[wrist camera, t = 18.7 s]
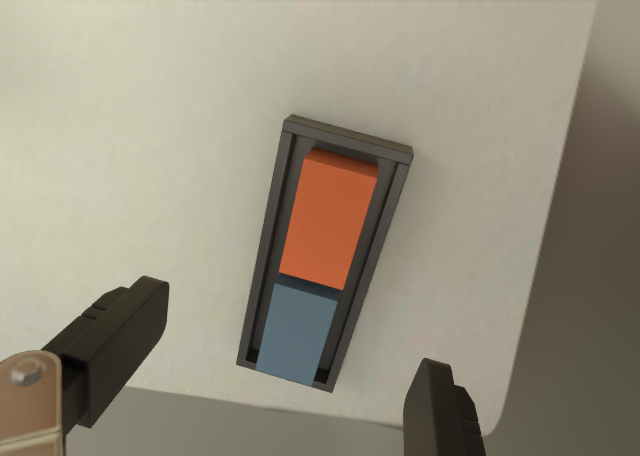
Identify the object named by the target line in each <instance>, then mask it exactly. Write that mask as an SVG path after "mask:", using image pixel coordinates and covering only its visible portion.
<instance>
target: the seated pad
mask: <svg viewBox="0 0 640 456" xmlns="http://www.w3.org/2000/svg"><path fill="white" fill-rule="evenodd" d="M339 294H340V289H337V288H333V287H330V286H326V285H323V284H319V283H316V282H312V281H309V280H305V279H302V278H298V277H295V276H291V275H288V274H284V273H281V272H280V273H279V275H278V278H277V280H276V282H275V284H274V289H273V293H272V298H271V302H270V307H269V311H268V315H267V320H266V324H265V329H264V333H263V338H262V342H261V347H260V351H259V355H258V360H257V364H256V369H255V370H257V371H261V372H264V373H267V374H271V375H274V376H277V377H281V378H284V379H288V380H291V381H294V382H298V383H301V384H304V385H308V386H312V384H313V381H314V377H315V374H316V371H317V368H318V365H319V361H320V358H321V355H322V352H323V348H324V345H325V342H326V339H327V336H328V332H329V329H330V326H331V323H332V319H333V316H334V313H335V310H336V307H337V303H338V299H339Z"/></svg>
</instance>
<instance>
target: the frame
mask: <svg viewBox="0 0 640 456" xmlns="http://www.w3.org/2000/svg"><path fill="white" fill-rule="evenodd" d="M282 130H283V131H282V132H281V137H280V142H279V147H278V152H277V158H276V163H275V168H274V173H273V178H272V183H271V188H270V193H269V198H268V203H267V208H266V214H265V219H264V224H263V229H262V234H261V239H260V244H259V249H258V254H257V259H256V265H255V270H254V275H253V280H252V285H251V290H250V295H249V300H248V305H247V310H246V315H245V321H244V326H243V331H242V336H241V341H240V346H239V351H238V356H237V362H236V365H239V366H242V367H245V368H249V369H252V370H255V369H256V364H257V360H258V355H259V351H260V347H261V342H262V338H263V333H264V329H265V324H266V320H267V315H268V311H269V307H270V302H271V298H272V293H273V289H274V284H275V282H276V280H277V278H278V275H279V273H280V272H279V268H280V264H281V259H282V255H283V250H284V246H285V242H286V237H287V233H288V228H289V224H290V219H291V215H292V210H293V206H294V201H295V197H296V192H297V188H298V183H299V179H300V175H301V170H302V166H303V161H304V158H305V157H306V156H307V154H308V153H309V152H310V150H311V149H312V147H315V148H319V149H322V150H326V151H330V152H333V153H337V154H341V155H344V156H348V157H352V158H355V159H359V160H363V161H366V162H370V163H374V164H378V177H377V182H376V185H375V188H374V192H373V195H372V198H371V201H370V204H369V208H368V211H367V214H366V217H365V221H364V224H363V227H362V230H361V234H360V237H359V240H358V243H357V246H356V250H355V253H354V256H353V259H352V263H351V266H350V269H349V272H348V276H347V279H346V282H345V285H344V289H343V290H340V294H339V299H338V303H337V307H336V310H335V313H334V316H333V319H332V323H331V326H330V329H329V332H328V336H327V339H326V342H325V345H324V348H323V352H322V355H321V358H320V361H319V365H318V368H317V371H316V374H315V377H314V381H313V384H312V386H310V387H313V388H316V389H320V390H323V391H326V392H330V393H332V392H333V389H334V386H335V384H336V381H337V378H338V375H339V372H340V369H341V366H342V363H343V360H344V357H345V355H346V352H347V349H348V346H349V343H350V340H351V337H352V334H353V331H354V328H355V325H356V322H357V320H358V317H359V314H360V311H361V308H362V305H363V302H364V299H365V296H366V293H367V290H368V287H369V284H370V282H371V279H372V276H373V273H374V270H375V267H376V264H377V261H378V258H379V255H380V252H381V249H382V247H383V244H384V241H385V238H386V235H387V232H388V229H389V226H390V223H391V220H392V217H393V214H394V211H395V209H396V206H397V203H398V200H399V197H400V194H401V191H402V188H403V185H404V182H405V179H406V176H407V174H408V171H409V168H410V164H411V162H412V159H413V151H412V147H410V146H406V145H403V144H399V143H395V142H392V141H388V140H384V139H380V138H377V137H373V136H369V135H366V134H362V133H358V132H355V131H351V130H347V129H344V128H340V127H336V126H333V125H329V124H325V123H322V122H318V121H314V120H311V119H307V118H303V117H299V116H296V115H290V116H289V117H287V118H286V119H285V120H284V122H283V128H282ZM256 371H257V370H256ZM259 372H261V371H259ZM262 373H264V372H262ZM266 374H267V373H266ZM269 375H271V374H269ZM272 376H274V375H272ZM276 377H277V376H276ZM279 378H281V377H279ZM283 379H284V378H283ZM286 380H288V379H286ZM289 381H291V380H289ZM293 382H294V381H293ZM296 383H298V382H296ZM299 384H301V383H299ZM303 385H304V384H303ZM306 386H308V385H306Z"/></svg>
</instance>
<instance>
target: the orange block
mask: <svg viewBox="0 0 640 456" xmlns="http://www.w3.org/2000/svg"><path fill="white" fill-rule="evenodd" d="M377 177H378V164H374V163H370V162H366V161H363V160H359V159H355V158H352V157H348V156H344V155H341V154H337V153H333V152H330V151H326V150H322V149H319V148H315V147H312V149H311V150H310V152H309V153H308V154H307V156H306V157H305V158H304V161H303V166H302V170H301V175H300V179H299V183H298V188H297V192H296V197H295V201H294V206H293V210H292V215H291V219H290V224H289V228H288V233H287V237H286V242H285V246H284V250H283V255H282V259H281V264H280V268H279V272H281V273H284V274H288V275H291V276H295V277H298V278H302V279H305V280H309V281H312V282H316V283H319V284H323V285H326V286H330V287H333V288H337V289H340V290H343V289H344V285H345V282H346V279H347V276H348V272H349V269H350V266H351V263H352V259H353V256H354V253H355V250H356V246H357V243H358V240H359V237H360V234H361V230H362V227H363V224H364V221H365V217H366V214H367V211H368V208H369V204H370V201H371V198H372V195H373V192H374V188H375V185H376V182H377Z"/></svg>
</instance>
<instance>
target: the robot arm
mask: <svg viewBox="0 0 640 456" xmlns="http://www.w3.org/2000/svg"><path fill="white" fill-rule="evenodd" d="M168 299H169V283H168V282H165V281H162V280H158V279H155V278H151V277H148V276H142V277H141V278H139V279H138V280H137V281H136V282H135V283H134V284H133V285H132V286H131V287H130V288H129V289H128V288H125V287H119V288H117V289H114V290H112V291H110V292H107V293H105V294H104V295H102V296H101V297H100V298H99V299H98V300H97V301H96V302H94V303H93V304H92V306H91V307H89V308H88V309H86V310H85V311H84V312H83V313H82V315H81V316H78V317H77V318H76V319H75V320H74V321H73V322H72V323H70V324H69V325H68V326H67V327H66V328H65V329H64V330H62V331H61V332H60V333H59V334H58V335H57V336H56V337H54V338H53V339H52V340H51V341H50V342H49V343H48V344H47V345H45V346H44V347H43V348H42V349H41V350H32V351H25V352H21V353H18V354H15V355H13V356H10V357H9V358H7V359H5V360H3V361H2V362H1V363H0V456H66V435H67V434H68V433H69V432H70V431H71V429H72V428H73V427H74V426H75V425H76V424H78V425H81V426H84V427H87V428H91V427H92V426H93V425H94V424H95V422H96V421H97V420H98V418H99V417H100V416H101V415H102V413H103V412H104V411H105V409H106V408H107V407H108V406H109V404H110V403H111V402H112V400H113V399H114V398H115V397H116V395H117V394H118V393H119V392H120V390H121V389H122V388H123V386H124V385H125V384H126V383H127V381H128V380H129V379H130V377H131V376H132V375H133V374H134V372H135V371H136V370H137V368H138V367H139V366H140V365H141V363H142V362H143V361H144V359H145V358H146V357H147V356H148V354H149V353H150V352H151V350H152V349H153V348H154V347H155V345H156V344H157V343H158V341H159V340H160V338H161V337H162V335H163V332H164V330H165V327H166V322H167V311H168ZM403 426H404V456H486V453H485V448H484V444H483V439H482V437H481V431H480V426H479V423H478V417H477V413H476V408H475V404H474V402H473V401H472V399H471V397H470V396H469V394H468V393H467V391H466V390H465V388H464V387H460V386H457V385H454V381H453V375H452V370H451V366H450V365H448V364H445V363H441V362H438V361H435V360H431V359H428V358H424V359H423V360H422V362H421V364H420V366H419V368H418V370H417V373H416V375H415V377H414V379H413V382H412V384H411V386H410V388H409V391H408V393H407V396H406V399H405V404H404V410H403Z"/></svg>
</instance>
